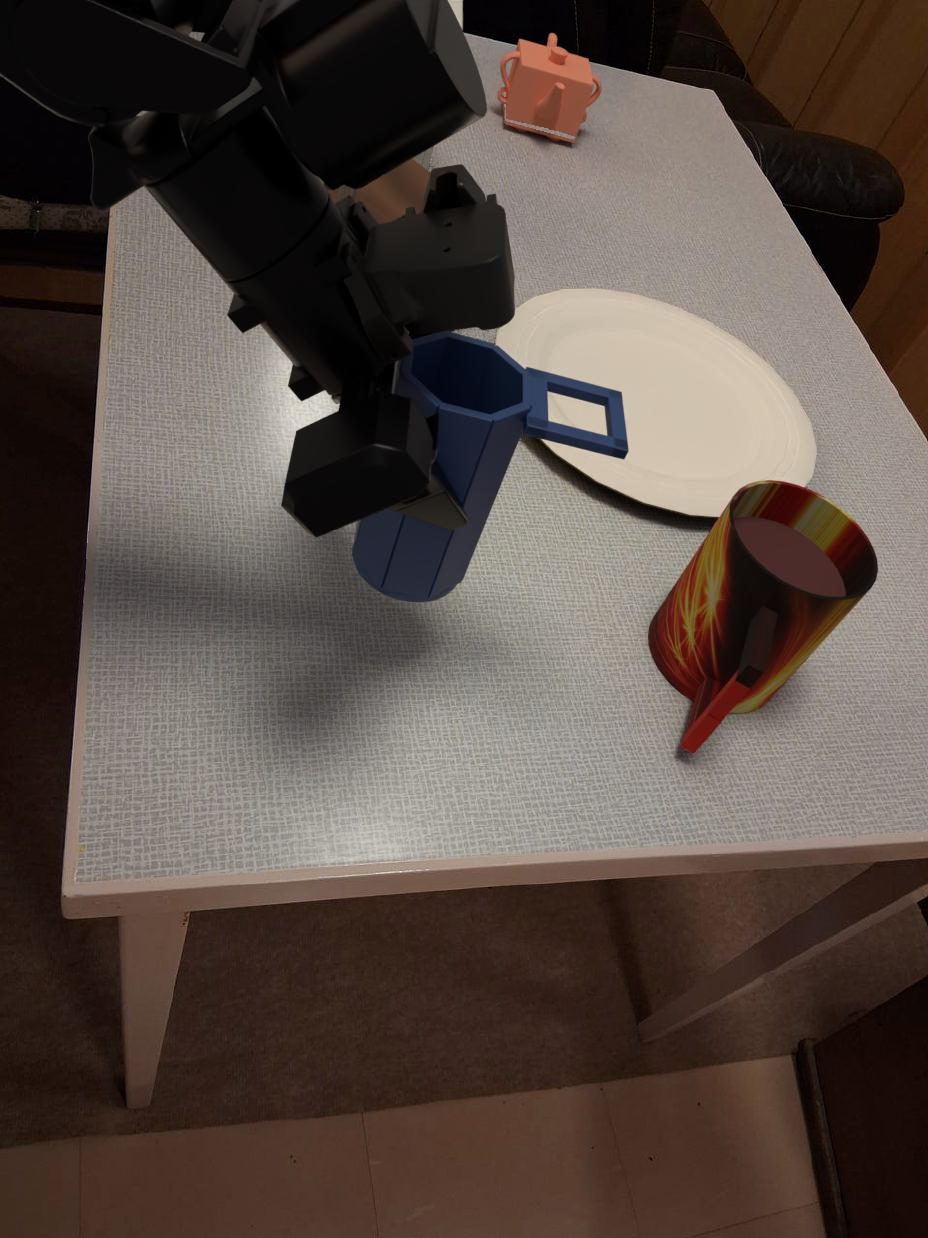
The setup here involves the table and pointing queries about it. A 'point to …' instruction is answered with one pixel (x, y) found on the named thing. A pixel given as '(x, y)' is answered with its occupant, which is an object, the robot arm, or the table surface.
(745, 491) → the mug
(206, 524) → the table surface
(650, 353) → the plate
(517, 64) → the teapot
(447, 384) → the measuring cup
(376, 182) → the hook box
